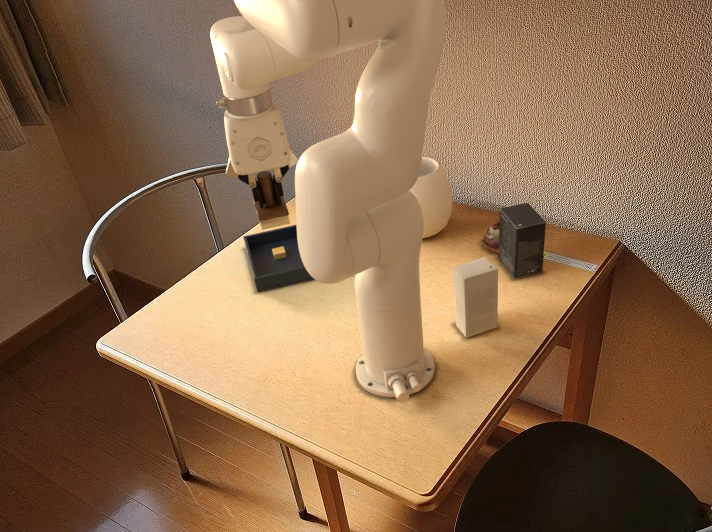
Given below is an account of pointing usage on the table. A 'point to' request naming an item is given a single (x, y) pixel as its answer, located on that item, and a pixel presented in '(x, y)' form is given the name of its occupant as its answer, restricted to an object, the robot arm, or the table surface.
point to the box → (521, 240)
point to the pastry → (492, 237)
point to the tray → (279, 270)
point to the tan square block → (279, 252)
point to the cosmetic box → (476, 296)
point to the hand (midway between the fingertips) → (269, 201)
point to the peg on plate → (270, 204)
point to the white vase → (433, 196)
